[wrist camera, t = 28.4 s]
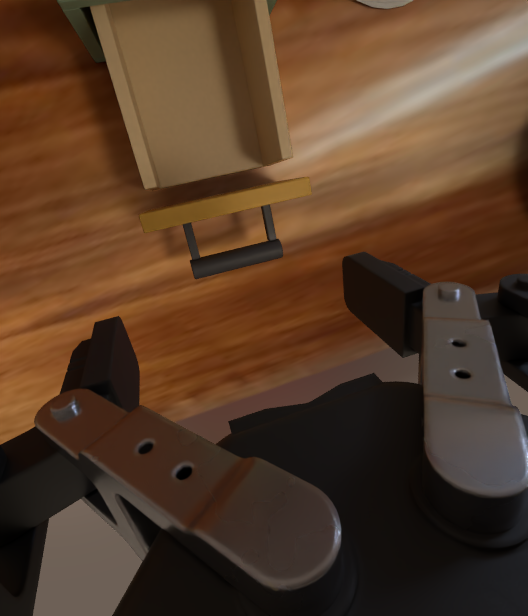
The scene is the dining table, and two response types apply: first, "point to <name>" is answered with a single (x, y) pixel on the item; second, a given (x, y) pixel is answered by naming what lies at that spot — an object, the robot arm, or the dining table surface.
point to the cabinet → (78, 12)
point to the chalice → (385, 3)
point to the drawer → (201, 109)
